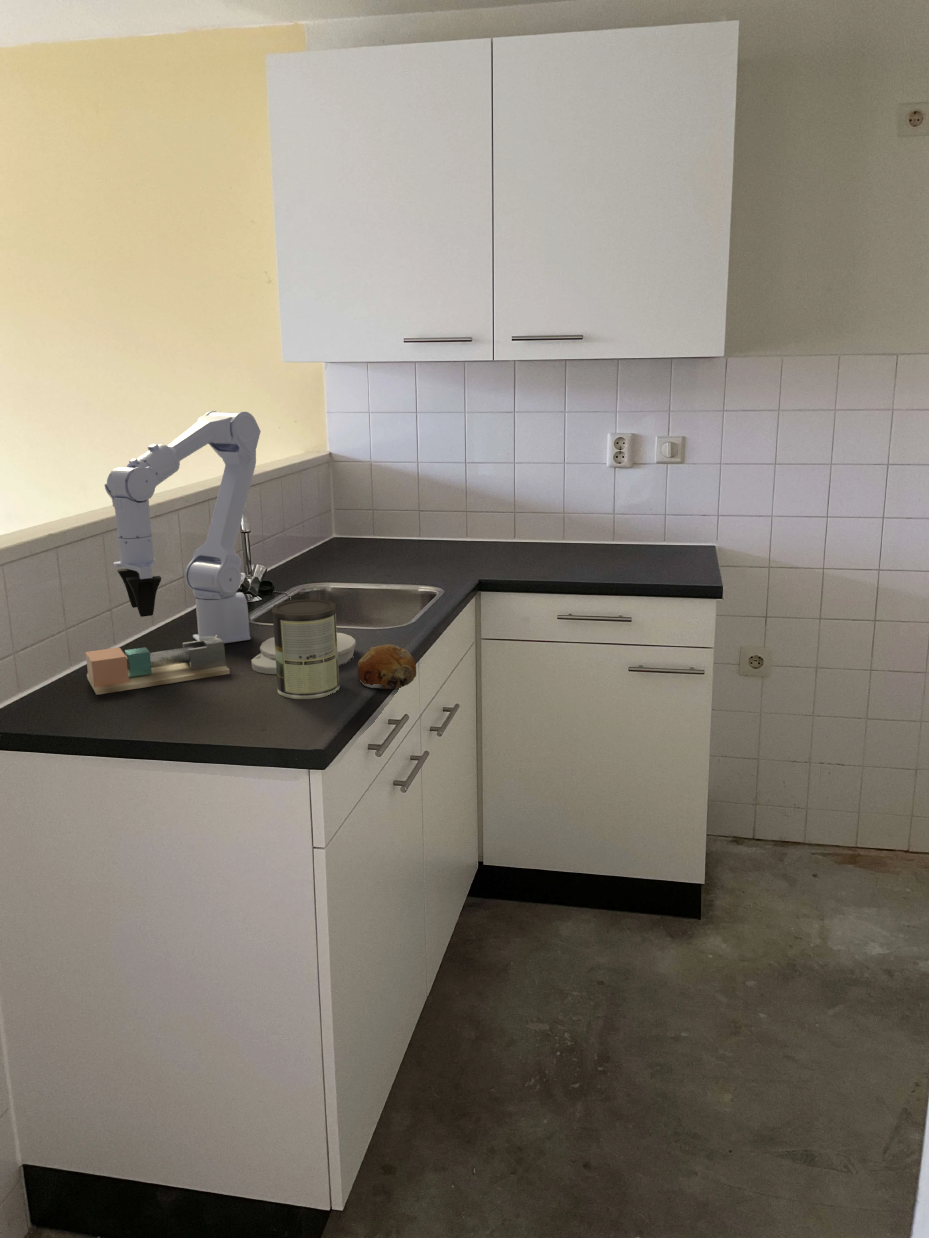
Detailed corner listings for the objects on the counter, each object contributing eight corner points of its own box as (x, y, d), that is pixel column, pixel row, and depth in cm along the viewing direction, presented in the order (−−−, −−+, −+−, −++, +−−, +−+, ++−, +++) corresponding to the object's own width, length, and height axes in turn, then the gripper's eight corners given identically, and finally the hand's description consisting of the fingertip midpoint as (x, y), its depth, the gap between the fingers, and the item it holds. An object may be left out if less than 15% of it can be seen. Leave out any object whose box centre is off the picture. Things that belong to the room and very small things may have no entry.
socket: (122, 671, 170) (119, 647, 169) (128, 681, 165) (126, 656, 164) (88, 676, 168) (85, 651, 167) (94, 687, 162) (91, 661, 161)
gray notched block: (217, 658, 177) (216, 634, 176) (225, 665, 173) (223, 641, 172) (184, 663, 175) (182, 639, 173) (191, 671, 170) (189, 646, 169)
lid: (228, 664, 178) (227, 648, 177) (314, 640, 192) (314, 626, 191) (289, 683, 166) (288, 666, 166) (376, 657, 181) (375, 641, 180)
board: (214, 659, 180) (214, 655, 179) (229, 673, 171) (229, 669, 171) (87, 678, 169) (86, 674, 169) (96, 694, 161) (95, 690, 161)
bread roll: (417, 694, 170) (416, 648, 172) (416, 687, 160) (415, 638, 162) (359, 695, 170) (359, 650, 172) (354, 688, 160) (354, 640, 162)
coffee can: (263, 691, 162) (258, 607, 158) (311, 676, 169) (306, 596, 166) (306, 704, 155) (301, 617, 152) (353, 687, 163) (349, 604, 159)
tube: (191, 662, 174) (189, 641, 173) (195, 667, 171) (194, 645, 170) (102, 675, 167) (100, 653, 166) (105, 680, 164) (103, 658, 164)
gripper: (104, 532, 177) (112, 605, 181) (118, 544, 165) (126, 622, 168) (144, 528, 181) (151, 600, 184) (161, 540, 168) (168, 617, 172)
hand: (142, 611), depth 176 cm, fingers open, 7 cm apart
